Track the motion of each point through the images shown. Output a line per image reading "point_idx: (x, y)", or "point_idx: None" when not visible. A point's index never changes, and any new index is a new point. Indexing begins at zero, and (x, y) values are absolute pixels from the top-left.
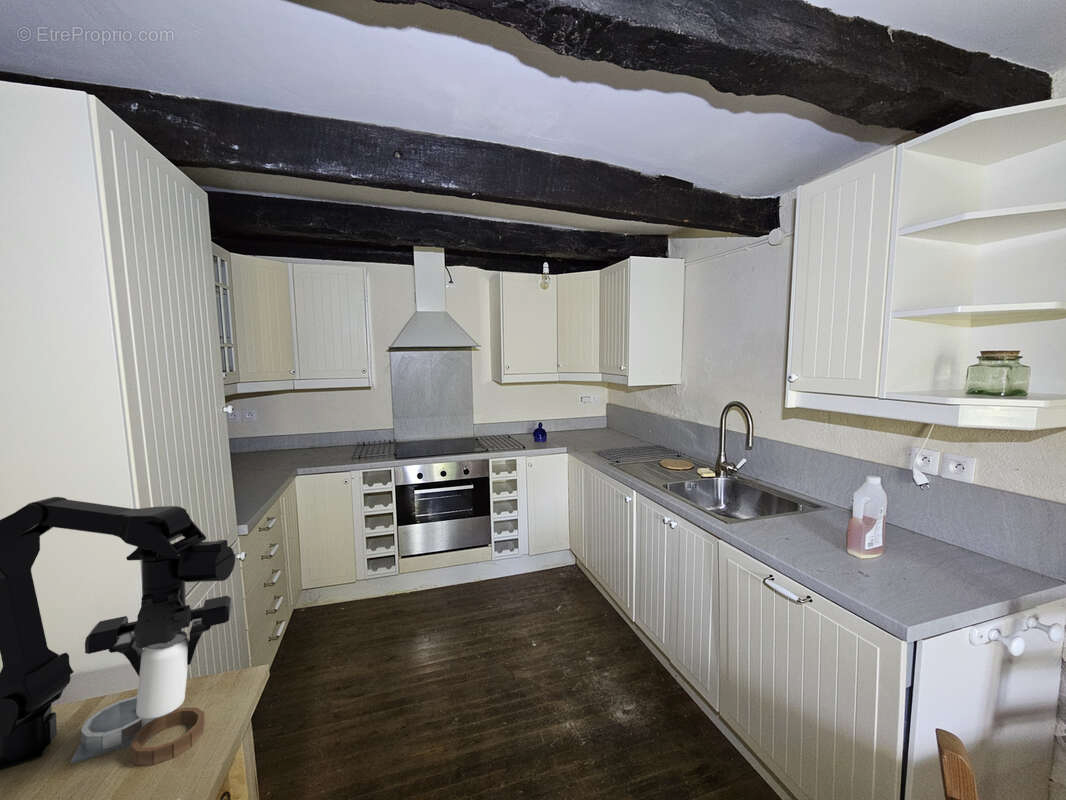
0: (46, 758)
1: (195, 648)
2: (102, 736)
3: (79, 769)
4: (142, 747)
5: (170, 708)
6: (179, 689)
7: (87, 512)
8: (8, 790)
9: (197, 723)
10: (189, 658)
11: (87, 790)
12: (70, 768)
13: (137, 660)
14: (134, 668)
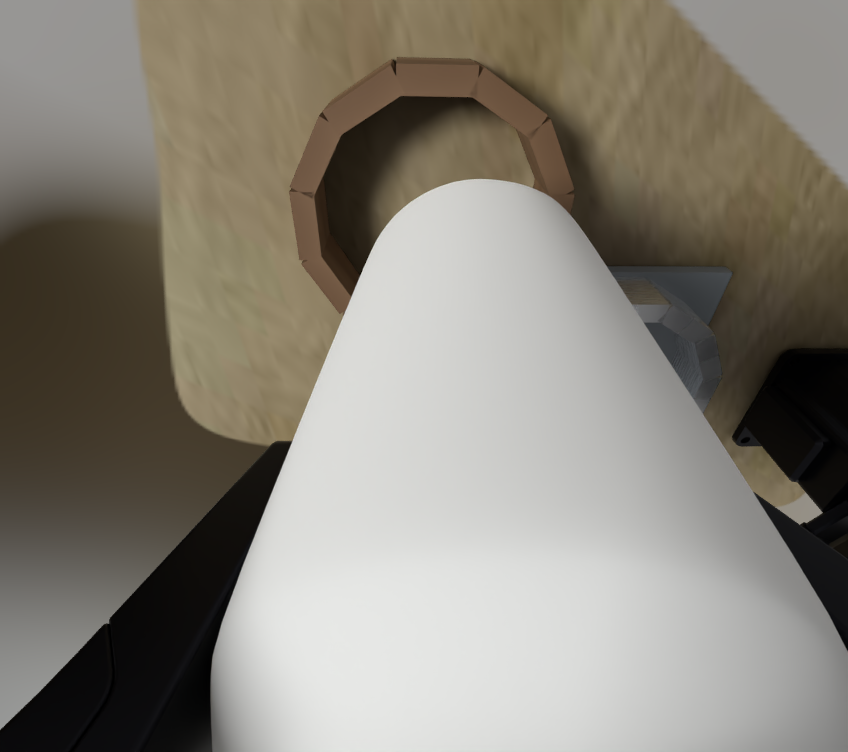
0: (772, 337)
1: (128, 598)
2: (668, 303)
3: (707, 219)
4: (528, 136)
5: (417, 203)
6: (363, 276)
7: None
8: None
9: (308, 187)
10: (255, 489)
11: (703, 45)
12: (729, 243)
13: (846, 618)
14: (792, 521)
